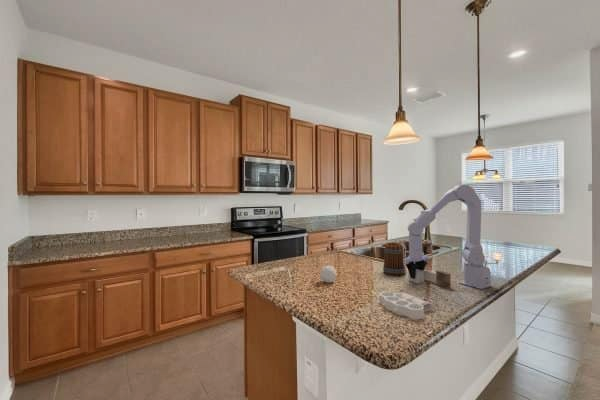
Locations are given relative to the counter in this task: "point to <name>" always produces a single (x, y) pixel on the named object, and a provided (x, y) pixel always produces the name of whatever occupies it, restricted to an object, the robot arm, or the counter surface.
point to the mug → (393, 259)
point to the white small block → (418, 276)
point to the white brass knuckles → (404, 304)
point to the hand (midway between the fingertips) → (416, 277)
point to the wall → (443, 279)
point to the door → (430, 275)
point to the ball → (328, 274)
